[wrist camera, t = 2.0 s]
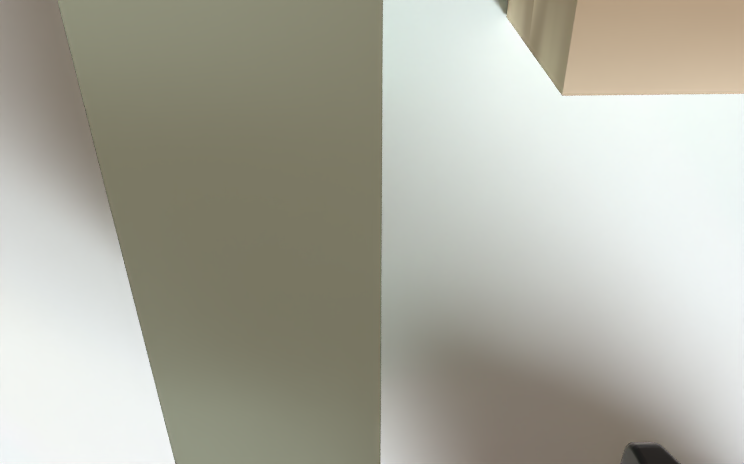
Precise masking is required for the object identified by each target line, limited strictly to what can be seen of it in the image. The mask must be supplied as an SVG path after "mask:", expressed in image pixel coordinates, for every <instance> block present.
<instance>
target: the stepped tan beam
mask: <svg viewBox="0 0 744 464" xmlns="http://www.w3.org/2000/svg"><path fill="white" fill-rule="evenodd" d="M507 18H508V20H509V21H510V23H511V24H512V26H513V27H514V28H515V30H516V31H517V33H518V34H519V35H520V37H521V38H522V40H523V41H524V42H525V44H526V45H527V47H528V48H529V50H530V51H531V52H532V54H533V55H534V57H535V58H536V59H537V61H538V62H539V64H540V65H541V66H542V68H543V69H544V71H545V72H546V74H547V75H548V76H549V78H550V79H551V81H552V82H553V83H554V85H555V86H556V88H557V89H558V90H559V92H560V93H561V95H562V96H573V95H660V94H744V0H508V8H507Z"/></svg>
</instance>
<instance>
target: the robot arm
mask: <svg viewBox="0 0 744 464" xmlns="http://www.w3.org/2000/svg"><path fill="white" fill-rule="evenodd" d="M620 464H680V463H679V462H678V461H677V460H676V459H675V458H674V457H673V456H672V455H671V454H670V453H669V452H668V451H667V450H665V449H664V448H663V447H662V446H661V445H659V444H657V443H653V442H637V443H630V444H628V445H627V446H626V448H625V450H624V454H623V457H622V460H621V463H620Z"/></svg>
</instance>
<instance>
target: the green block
mask: <svg viewBox="0 0 744 464" xmlns="http://www.w3.org/2000/svg"><path fill="white" fill-rule="evenodd" d="M57 1H58V5H59V9H60V13H61V16H62V20H63V24H64V28H65V32H66V36H67V40H68V44H69V48H70V52H71V56H72V60H73V64H74V67H75V71H76V75H77V79H78V83H79V87H80V91H81V95H82V99H83V103H84V107H85V111H86V115H87V118H88V122H89V126H90V130H91V134H92V138H93V142H94V146H95V150H96V154H97V158H98V162H99V166H100V169H101V173H102V177H103V181H104V185H105V189H106V193H107V197H108V201H109V205H110V209H111V213H112V217H113V220H114V224H115V228H116V232H117V236H118V240H119V244H120V248H121V252H122V256H123V260H124V264H125V268H126V271H127V275H128V279H129V283H130V287H131V291H132V295H133V299H134V303H135V307H136V311H137V315H138V319H139V322H140V326H141V330H142V334H143V338H144V342H145V346H146V350H147V354H148V358H149V362H150V366H151V370H152V374H153V377H154V381H155V385H156V389H157V393H158V397H159V401H160V405H161V409H162V413H163V417H164V421H165V425H166V428H167V432H168V436H169V440H170V444H171V448H172V452H173V456H174V460H175V464H380V429H381V233H382V38H383V0H57Z"/></svg>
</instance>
